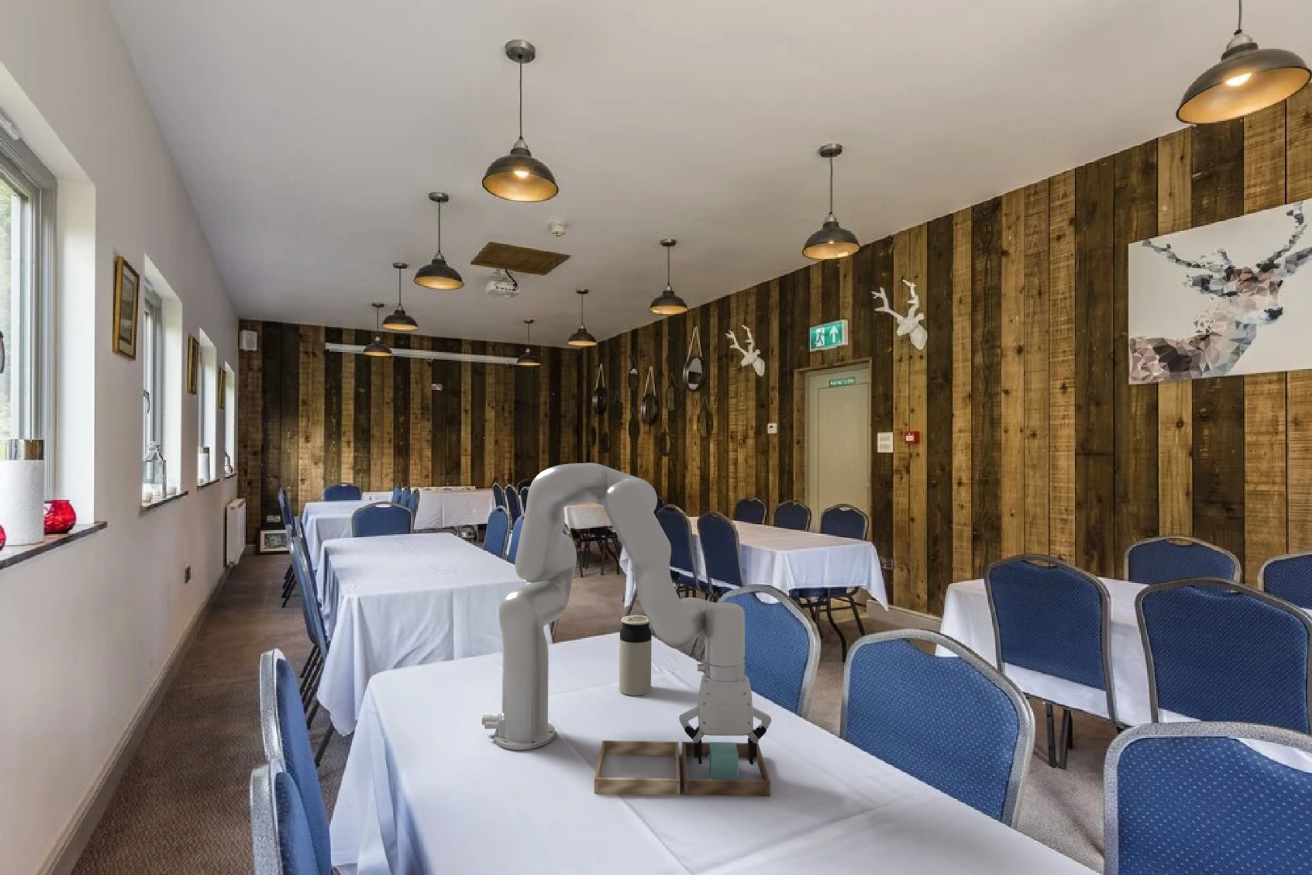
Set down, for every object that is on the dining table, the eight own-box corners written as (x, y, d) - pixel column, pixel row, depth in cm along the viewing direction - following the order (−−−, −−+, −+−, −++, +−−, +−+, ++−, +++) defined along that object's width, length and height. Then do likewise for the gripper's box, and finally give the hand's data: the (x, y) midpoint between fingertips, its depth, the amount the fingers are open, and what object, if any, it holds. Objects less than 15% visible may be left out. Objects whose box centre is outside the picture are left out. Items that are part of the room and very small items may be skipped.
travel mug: (656, 688, 167) (657, 617, 167) (639, 699, 160) (640, 624, 160) (631, 682, 171) (631, 613, 171) (612, 692, 164) (613, 619, 165)
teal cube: (711, 781, 122) (711, 754, 122) (709, 767, 127) (709, 741, 127) (738, 781, 122) (738, 754, 122) (735, 768, 127) (735, 742, 127)
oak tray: (594, 793, 117) (594, 779, 117) (602, 752, 132) (602, 740, 132) (679, 794, 117) (679, 780, 117) (678, 754, 132) (678, 741, 132)
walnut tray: (684, 794, 117) (684, 780, 117) (682, 754, 132) (682, 741, 132) (770, 796, 117) (770, 782, 117) (758, 755, 132) (758, 743, 132)
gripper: (679, 677, 121) (679, 770, 121) (774, 677, 121) (774, 771, 120) (678, 663, 128) (679, 751, 128) (767, 663, 128) (768, 752, 128)
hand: (725, 761), depth 124 cm, fingers open, 9 cm apart
